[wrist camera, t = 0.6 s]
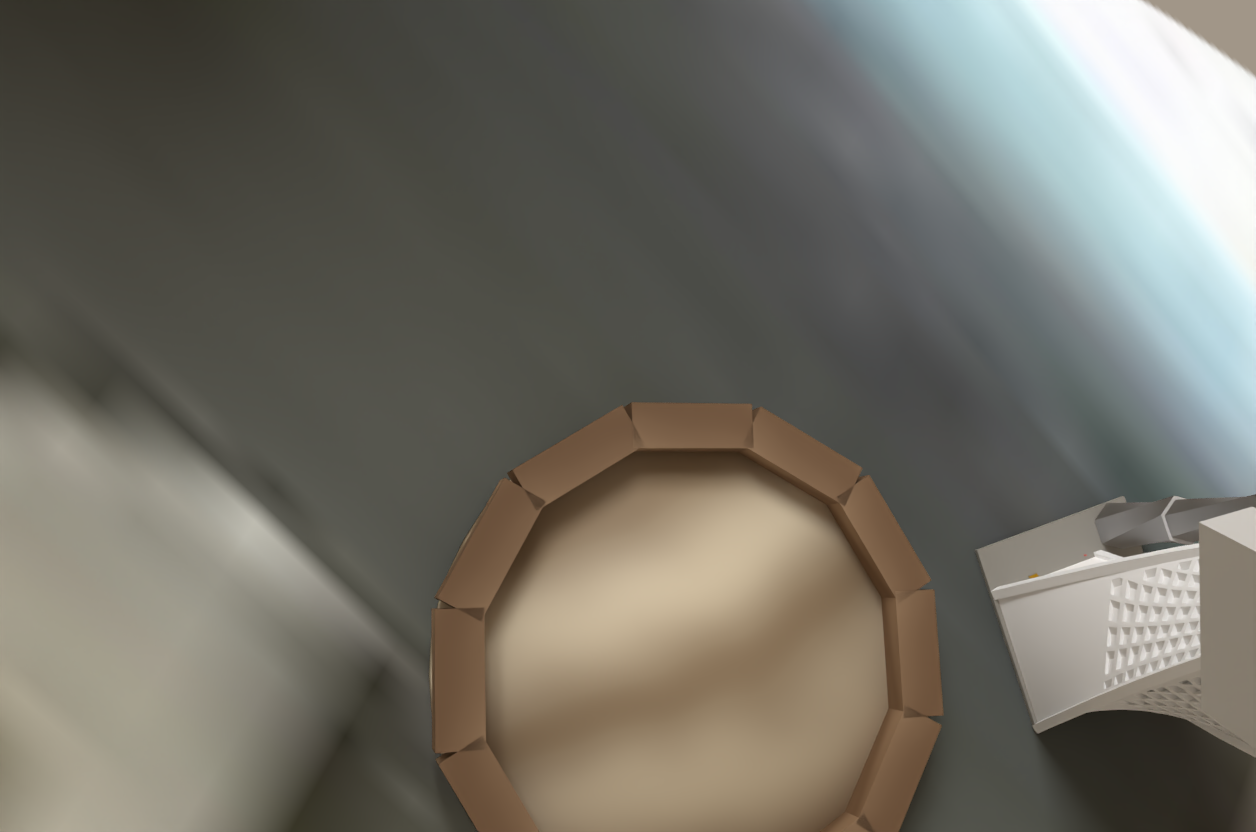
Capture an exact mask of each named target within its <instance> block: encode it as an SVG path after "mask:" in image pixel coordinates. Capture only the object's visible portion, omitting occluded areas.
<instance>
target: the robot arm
mask: <svg viewBox="0 0 1256 832" xmlns="http://www.w3.org/2000/svg"><path fill="white" fill-rule="evenodd" d="M1199 576H1200V652H1201V709H1202V710H1203V711H1204V712H1206V713H1207V714H1208V715H1210V716H1211V717H1212V718H1214V719H1215V720H1216V721H1218V722H1219V723H1220V724H1222V725H1223V726H1225V727H1226V728H1227V729H1229V730H1230V731H1231V732H1233V733H1234V734H1235V735H1237V736H1238V737H1239V738H1241V739H1242V740H1243V741H1245V742H1246V743H1248V744H1249V745H1250V746H1252V747H1253V748H1254V749H1256V508H1254V507H1249V508H1246V509H1242V510H1239V511H1235V512H1232V513H1228V514H1225V515H1221V516H1218V517H1215V518H1211V519H1208V520H1204V521H1201V522H1199Z"/></svg>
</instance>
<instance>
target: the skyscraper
mask: <svg viewBox="0 0 1256 832" xmlns="http://www.w3.org/2000/svg"><path fill="white" fill-rule="evenodd" d="M1249 507H1254V508H1256V494H1255V495H1251V496H1247V497H1229V498H1204V499H1184V498H1180V497H1177V496H1172V497H1168V498H1165V499H1162V500H1159V501H1156V502H1143V503H1126V500H1125V497H1124V496H1121V497H1118V498H1116V499H1113V500H1110V501H1107V502H1105V503H1102V504H1099V505H1097V506H1094V507H1091V508H1088V509H1086V510H1083V511H1080V512H1078V513H1075V514H1072V515H1069V516H1067V517H1064V518H1061V519H1059V520H1056V521H1053V522H1050V523H1048V524H1045V525H1042V526H1039V527H1037V528H1034V529H1031V530H1029V531H1026V532H1023V533H1020V534H1018V535H1015V536H1012V537H1010V538H1007V539H1004V540H1001V541H999V542H996V543H993V544H991V545H988V546H985V547H982V548H980V549H977V550H975V553H976V556H977V559H978V562H979V565H980V568H981V571H982V574H983V577H984V580H985V583H986V586H987V589H988V592H989V595H990V598H991V601H992V604H993V607H994V610H995V613H996V616H997V619H998V622H999V625H1000V628H1001V631H1002V635H1003V638H1004V641H1005V644H1006V647H1007V650H1008V653H1009V656H1010V659H1011V662H1012V665H1013V668H1014V671H1015V674H1016V677H1017V680H1018V683H1019V686H1020V689H1021V692H1022V695H1023V698H1024V701H1025V704H1026V707H1027V710H1028V713H1029V716H1030V719H1031V722H1032V727H1033V729H1034V731H1035V733H1037V734H1038V733H1040V732H1043V731H1045V730H1047V729H1049V728H1052V727H1054V726H1056V725H1059V724H1061V723H1063V722H1065V721H1068V720H1070V719H1073V718H1075V717H1077V716H1080V715H1082V714H1084V713H1088V712H1095V711H1104V710H1139V711H1148V712H1155V713H1160V714H1166V715H1170V716H1175V717H1179V718H1183V719H1186V720H1188V721H1190V722H1192V723H1193V724H1195V725H1197V726H1198V727H1200V728H1202V729H1204V730H1205V731H1207V732H1209V733H1211V734H1212V735H1214V736H1216V737H1217V738H1219V739H1221V740H1223V741H1225V742H1227V743H1229V744H1230V745H1232V746H1234V747H1236V748H1238V749H1240V750H1242V751H1244V752H1246V753H1248V754H1250V755H1251V756H1253V757H1255V758H1256V749H1254V748H1253V747H1252V746H1250V745H1249V744H1248V743H1246V742H1245V741H1243V740H1242V739H1241V738H1239V737H1238V736H1237V735H1235V734H1234V733H1233V732H1231V731H1230V730H1229V729H1227V728H1226V727H1225V726H1223V725H1222V724H1220V723H1219V722H1218V721H1216V720H1215V719H1214V718H1212V717H1211V716H1210V715H1208V714H1207V713H1206V712H1204V711H1203V710H1202V709H1201V652H1200V576H1199V543H1198V544H1193V543H1194V541H1199V522H1201V521H1204V520H1208V519H1211V518H1215V517H1218V516H1221V515H1225V514H1228V513H1232V512H1235V511H1239V510H1242V509H1246V508H1249ZM1160 542H1171V543H1180V544H1186V546H1180V547H1174V548H1169V549H1164V550H1159V551H1154V552H1149V553H1143V550H1142V547H1141V545H1146V544H1152V543H1160Z"/></svg>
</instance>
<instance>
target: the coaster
mask: <svg viewBox="0 0 1256 832" xmlns="http://www.w3.org/2000/svg"><path fill="white" fill-rule="evenodd" d="M861 470H862V467H860V466H858V465H857V464H855V463H853V462H852V461H850V460H848V459H847V458H845V457H843V456H842V455H840V454H838V453H837V452H835V451H833V450H832V449H830V448H829V447H827V446H825V445H824V444H822V443H820V442H819V441H817V440H815V439H814V438H812V437H810V436H809V435H807V434H805V433H804V432H802V431H800V430H799V429H797V428H795V427H794V426H792V425H791V424H789V423H787V422H786V421H784V420H782V419H781V418H779V417H777V416H776V415H774V414H772V413H771V412H769V411H767V410H766V409H764V408H762V407H759V408H756V409H754V410H752V404H718V403H637V402H632V403H630V404H628V405H627V406H625V407H623V406H622V405H621V406H620V407H618V408H616V409H614V410H613V411H611V412H609V413H608V414H606V415H604V416H603V417H601V418H599V419H598V420H596V421H594V422H592V423H591V424H589V425H587V426H586V427H584V428H582V429H581V430H579V431H577V432H576V433H574V434H572V435H570V436H569V437H567V438H565V439H564V440H562V441H560V442H559V443H557V444H555V445H554V446H552V447H550V448H548V449H547V450H545V451H543V452H542V453H540V454H538V455H537V456H535V457H533V458H531V459H530V460H528V461H526V462H525V463H523V464H521V465H520V466H518V467H516V468H515V469H513V470H511V471H510V472H508V473H507V474H508V475H509V477H510V480H508V479H506V478H503V479H502V480H500V481H499V483H498V485H497V486H496V488H495V490H494V492H493V494H492V495H491V497H490V499H489V501H488V503H487V504H486V506H485V508H484V509H483V511H482V512H481V514H480V515H479V517H478V518H477V520H476V521H475V523H474V524H473V526H472V527H471V529H470V531H469V532H468V534H467V535H466V537H465V538H464V540H463V542H462V544H461V546H460V548H459V550H458V552H457V555H456V557H455V559H454V561H453V563H452V565H451V567H450V569H449V572H448V574H447V576H446V578H445V580H444V581H443V583H442V585H441V587H440V588H439V590H438V592H437V594H436V596H435V597H434V598H436V599H438V600H439V602H438V606H437V608H436V609H431V611H432V637H431V648H430V665H429V684H430V698H431V712H432V749H433V750H434V752H435V753H441V756H440V757H438V758H437V759H435V760H436V762H437V763H438V765H439V767H440V768H441V770H442V772H443V773H444V775H445V777H446V778H447V780H448V782H449V783H450V785H451V787H452V788H453V790H454V792H455V794H456V795H457V797H458V799H459V800H460V802H461V804H462V805H463V807H464V809H465V810H466V812H467V814H468V816H469V817H470V819H471V820H472V822H473V824H474V825H475V827H476V829H477V830H478V832H899V830H900V827H901V825H902V822H903V820H904V818H905V815H906V813H907V810H908V808H909V805H910V803H911V800H912V798H913V795H914V793H915V791H916V788H917V786H918V783H919V781H920V778H921V776H922V773H923V771H924V768H925V766H926V763H927V761H928V759H929V756H930V754H931V751H932V749H933V746H934V744H935V741H936V739H937V736H938V734H939V732H940V729H941V727H942V725H940V724H938V723H937V722H935V721H933V720H931V719H929V718H928V717H927V716H941V715H943V702H942V688H941V674H940V661H939V647H938V633H937V620H936V606H935V592H934V590H918V589H920V588H921V587H922V586H924V585H925V584H926V583H928V582H929V581H931V579H930V577H929V575H928V574H927V572H926V570H925V568H924V567H923V565H922V563H921V562H920V560H919V558H918V557H917V555H916V553H915V552H914V550H913V548H912V546H911V545H910V543H909V541H908V540H907V538H906V536H905V535H904V533H903V531H902V530H901V528H900V526H899V524H898V523H897V521H896V519H895V518H894V516H893V514H892V513H891V511H890V509H889V508H888V506H887V504H886V502H885V501H884V499H883V497H882V496H881V494H880V492H879V491H878V489H877V487H876V486H875V484H874V482H873V480H872V479H871V477H870V475H867V476H862V477H859V475H860V472H861Z"/></svg>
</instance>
